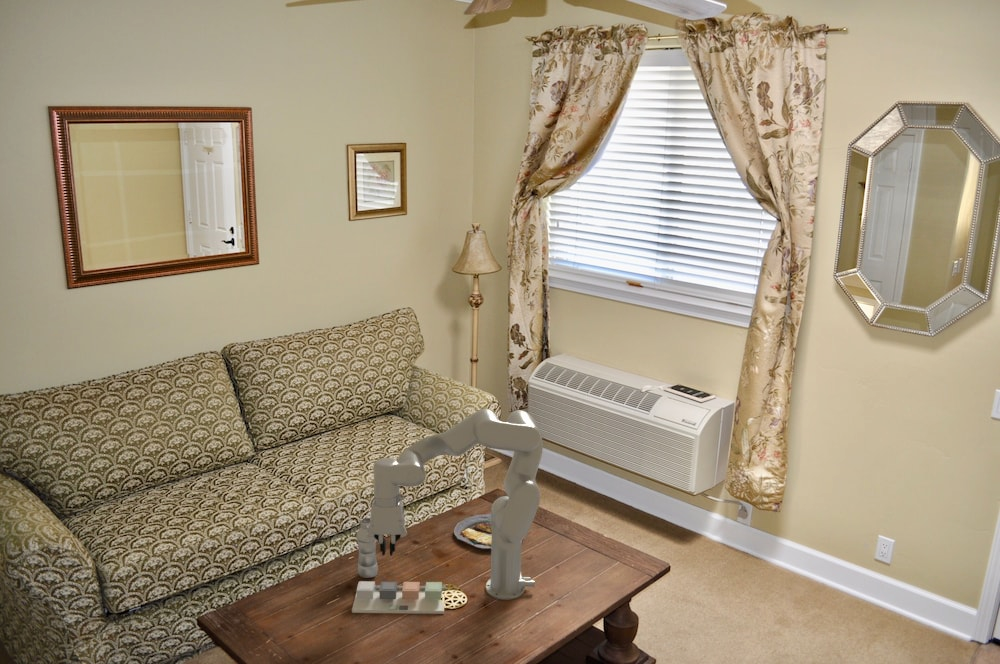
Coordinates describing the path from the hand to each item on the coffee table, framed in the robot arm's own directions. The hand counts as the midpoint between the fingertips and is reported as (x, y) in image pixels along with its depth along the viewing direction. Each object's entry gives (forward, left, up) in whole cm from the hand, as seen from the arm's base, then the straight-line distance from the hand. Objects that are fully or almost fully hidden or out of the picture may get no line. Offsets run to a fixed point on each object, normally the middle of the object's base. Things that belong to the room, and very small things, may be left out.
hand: (387, 552), depth 256 cm
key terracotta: (-7, 0, -15) cm, 16 cm away
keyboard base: (-3, 0, -17) cm, 17 cm away
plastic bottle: (+9, -14, -17) cm, 24 cm away
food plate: (-31, -41, -18) cm, 55 cm away
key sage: (-14, 0, -15) cm, 20 cm away
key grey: (+7, 0, -15) cm, 16 cm away
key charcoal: (0, 0, -15) cm, 15 cm away
